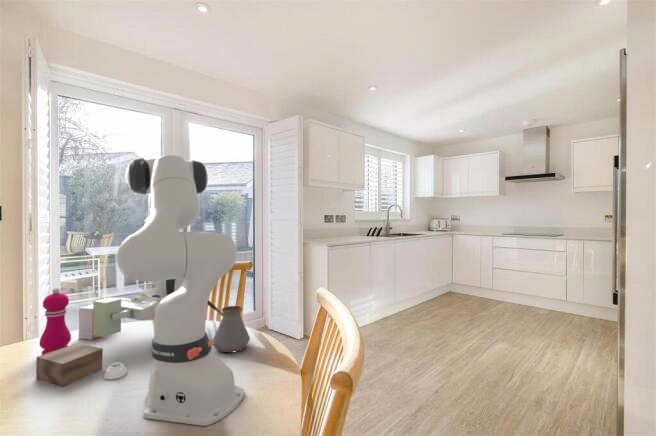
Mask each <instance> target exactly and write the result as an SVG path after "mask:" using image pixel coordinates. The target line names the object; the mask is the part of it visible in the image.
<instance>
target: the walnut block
mask: <svg viewBox="0 0 656 436" xmlns="http://www.w3.org/2000/svg"><path fill="white" fill-rule="evenodd" d="M103 352H104V348H102V347H97V346H94V345H91V344H90V345H89V344H84V343H82V342H81V343H80V342H76V343H74V344H73V343H72V344H70V345H67V347H64V348H61V349H58V350H55V351H52V352H50V353H47V354H44V355H42V354H41V355H37V356H36V367H35V368H36V370H35V371H36V372H35V373H36V374H35V379H36V380H37V381H41V382H44V383H47V384H51V385H53V386H56V387H60V388H64V387H67V386H69V385H71V384H73V383H75V382H77V380H78V381H79V380H82V379H84V378H86V377H89V376H91V375H93V374H95V373H99V372H100V371H102V370H103V364H104V363H103V360H104V359H103V357H104V356H103V354H104V353H103Z"/></svg>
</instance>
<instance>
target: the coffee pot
mask: <svg viewBox="0 0 656 436" xmlns="http://www.w3.org/2000/svg"><path fill="white" fill-rule="evenodd" d="M207 306H209V307H210V308H212V309H213V310H214V311H216V312H217V313H218V314H219V315H220V316H222V319H221V321H220V323H219V326H218V328H217V330H216V332H215V334H214V336H213V339H215V340H214V341H213V342H212V343H215V344H213V345H212V346H214V348H215V349H217V350H218V351H219V350H220V351H221V352H220V351H219V352H220V353H222V352H233V351H238V350H240V349H242V348H243V349H244V348H245V347H247V346H248V344H249V342H250V340H251V338H250V335H249V333H248V330H247V328H246V325H245V323H244V321H243V318H242V316H241V312H242V310H243V307H242V306H240V305H229V306H228V305H227V306H225V307H223V308H221V309H219V308H217V306H215V305H214V304H213V303H212V302H211V301H210V300H208V303H207ZM243 349H242V350H243Z"/></svg>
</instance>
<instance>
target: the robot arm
mask: <svg viewBox="0 0 656 436" xmlns="http://www.w3.org/2000/svg"><path fill="white" fill-rule="evenodd" d="M125 179H126V183H127V184H128V186H129V188H130V190H131V191H132V192H133V193H136V194H139V195H147V194H148V215H147V217H146V218H145V219H144V221H143V222H142V227H141V228H140V229H139V230H137V231H136V232H135V233H132V234H130V235H129V236H127V237H126V238H125V239H124V240H123V241H122V242H121V244H119V245H120V246H119V247H118V251H117V253H116V263H117V267H118V269H119V271H120V272H121V273H122V275H123V276H124V277H125V278H127V279H130V280H135V281H143V282H146V283H149V284H152V285H153V287H152V288H149V289H145V290H141V291H138V292H136V293H134V294H133V296H132V298H126V297H117V298H118V299H121V312H115V313H112V314H111V315H110V316H111V317H110V319H113V320H116V319H121V320H122V319H130V320H136V321H148V320H153V319H154V332H153V333H154V336H153V337H154V338H153V339H152V340H151V348H150V349H151V356H152V358H153V360H152V367H151V370H150V376H149V382H148V391H147V394H146V397H145V401H144V406H145V407H144V410H143V413H142V416H143V418H144V419H151V420H157V421H166V422H172V423H181V424H187V425H194V426H200V427H204V426H205V427H206V426H210V425H212V424H215V423H216V422H219V421H221V420H222V419H224V418H226V417H227V416H228V415H229V414H231V413H232V412H233V411H234V410H235V409H236V408H237V407H238V406H240V404H241V403H242V401H243V400H244V398H245V389H244V388H242V387H240V386H238V385H236V384H235V378H234V377H235V376H234V373H233V370H232V369H231V368H230V367H229V366H228V365H227V364H226V363H225V362H224V361H223V360H221V358H220V357H219V356H218V355H217V354H216V353H214V351H213V350H212V346H214V345H213V344H215V343H213V341H214V340H215V339H214V338H213V339H212V340H210V339H209V336H208V333H207V331H206V320H207V309H208V305H207V303H208V301H210V300H209V299H210V296H211V294H212V291H213V290H214V288H215V286H216V285H217V284H218V282H219V281H220V280H221V278H223V277H224V275H226V274H227V273H228V272H229V271H231V269H232V268H233V267H234V265H235V263H236V261H237V257H238V248H237V246H236V243H235V241H234V240H233V238H232V237H231V236H230V235H229V234H227V233H226V234H225V233H220V232H215V231H181V230H183V229H185V228H187V227H189V226H191V224H193V223H194V222H195V221H196V220H197V219H198V217H199V215H200V205H199V204H200V202H199V197H198V195H199V194H201V193H203V192H204V191H205V190H206V188H207V185H208V183H209V175H208V171H207V169H206V165H204V164H203V163H202V161H201V162H200V161H197V160H186V159H185V158H183V157H182V156H180V155H176V154H164V155H161V156H160V157H153V158H151V157H150V158H144V157H138V158H133V159H132V160H130V162H129V163H128V165H127V168H126V171H125ZM243 397H244V398H243ZM242 399H243V400H242ZM241 400H242V401H241ZM240 402H241V403H240ZM239 403H240V404H239ZM231 411H232V412H231Z"/></svg>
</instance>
